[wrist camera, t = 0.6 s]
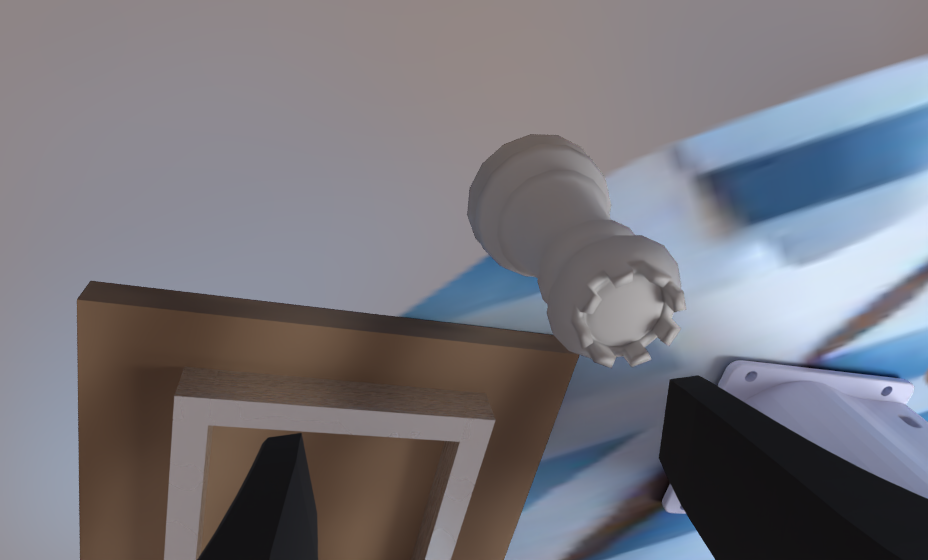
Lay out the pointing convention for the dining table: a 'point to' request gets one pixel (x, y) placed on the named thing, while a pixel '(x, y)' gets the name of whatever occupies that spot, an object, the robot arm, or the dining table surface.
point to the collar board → (306, 423)
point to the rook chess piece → (575, 249)
